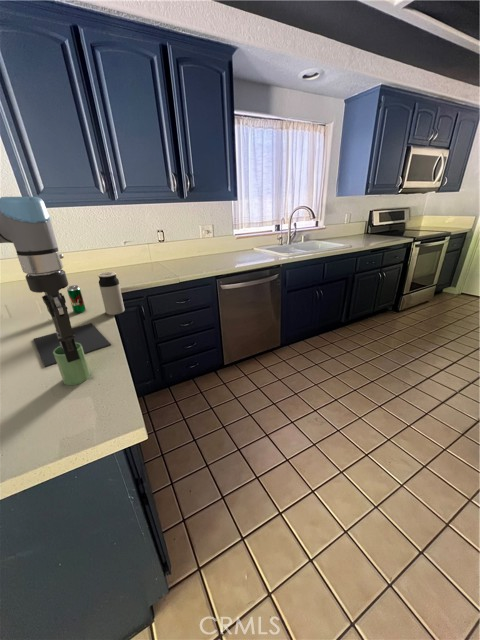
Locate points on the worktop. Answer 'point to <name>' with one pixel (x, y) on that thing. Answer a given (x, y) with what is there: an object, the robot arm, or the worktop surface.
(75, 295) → the soda can
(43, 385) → the worktop surface
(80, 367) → the green cup
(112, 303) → the travel mug
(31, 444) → the worktop surface
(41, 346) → the mat
